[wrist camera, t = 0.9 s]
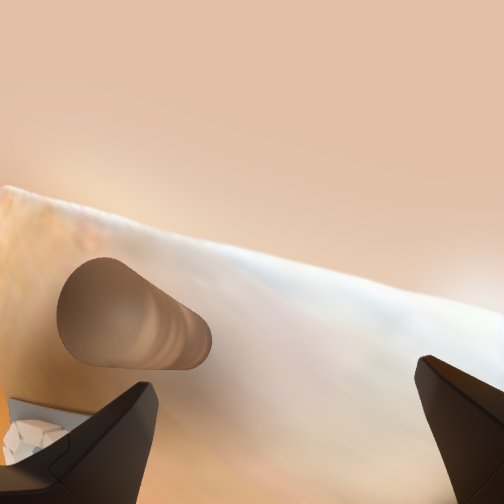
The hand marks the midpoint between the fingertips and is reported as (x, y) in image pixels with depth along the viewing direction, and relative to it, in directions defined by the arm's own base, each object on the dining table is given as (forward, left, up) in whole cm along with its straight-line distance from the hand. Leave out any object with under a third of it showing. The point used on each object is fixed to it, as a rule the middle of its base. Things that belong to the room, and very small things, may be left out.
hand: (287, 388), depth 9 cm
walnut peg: (+4, +8, -14) cm, 16 cm away
